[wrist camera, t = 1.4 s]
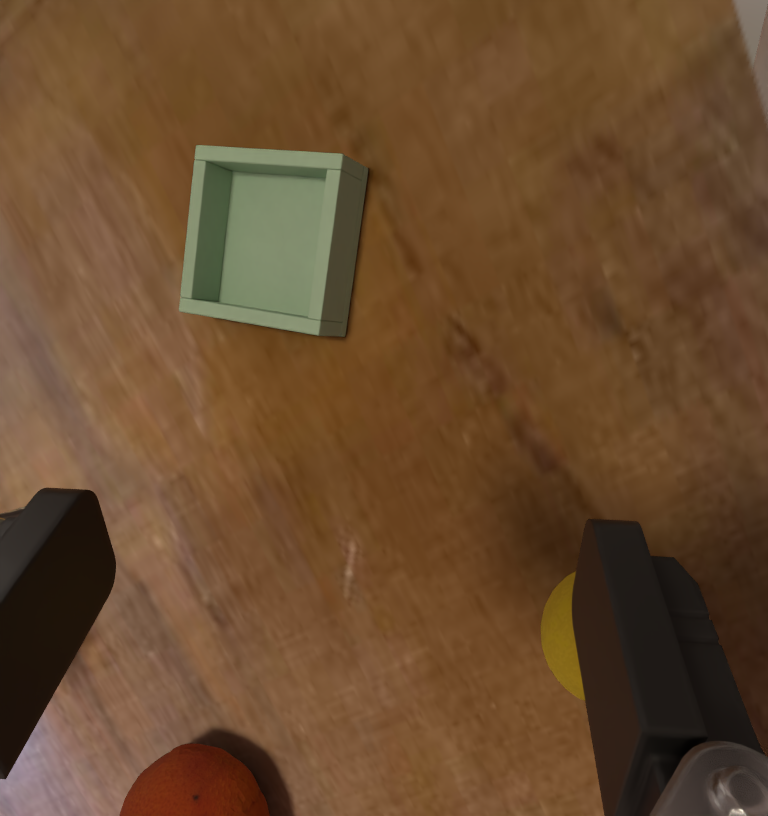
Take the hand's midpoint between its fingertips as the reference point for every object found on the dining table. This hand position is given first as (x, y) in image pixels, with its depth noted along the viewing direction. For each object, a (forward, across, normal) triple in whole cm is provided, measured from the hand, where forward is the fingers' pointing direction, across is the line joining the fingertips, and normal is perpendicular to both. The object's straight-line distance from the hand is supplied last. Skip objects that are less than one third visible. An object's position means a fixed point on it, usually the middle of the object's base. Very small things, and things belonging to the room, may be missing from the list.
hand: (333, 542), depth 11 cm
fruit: (+15, +11, +36) cm, 41 cm away
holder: (+29, +8, +5) cm, 31 cm away
